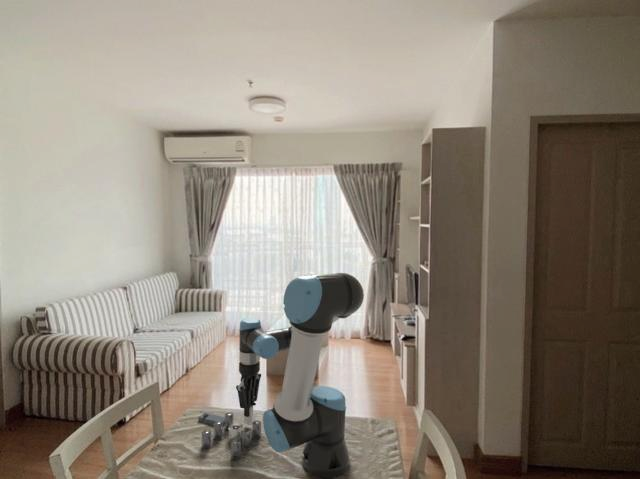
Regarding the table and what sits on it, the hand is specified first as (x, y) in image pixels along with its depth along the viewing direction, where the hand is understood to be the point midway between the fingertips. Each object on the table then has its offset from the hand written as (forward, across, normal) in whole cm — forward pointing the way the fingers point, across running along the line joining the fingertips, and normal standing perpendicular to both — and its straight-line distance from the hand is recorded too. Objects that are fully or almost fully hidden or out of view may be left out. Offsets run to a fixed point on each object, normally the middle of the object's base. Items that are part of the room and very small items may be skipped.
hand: (248, 423), depth 130 cm
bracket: (+2, +3, -14) cm, 14 cm away
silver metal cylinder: (+2, +8, 0) cm, 8 cm away
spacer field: (+1, +10, 0) cm, 10 cm away
